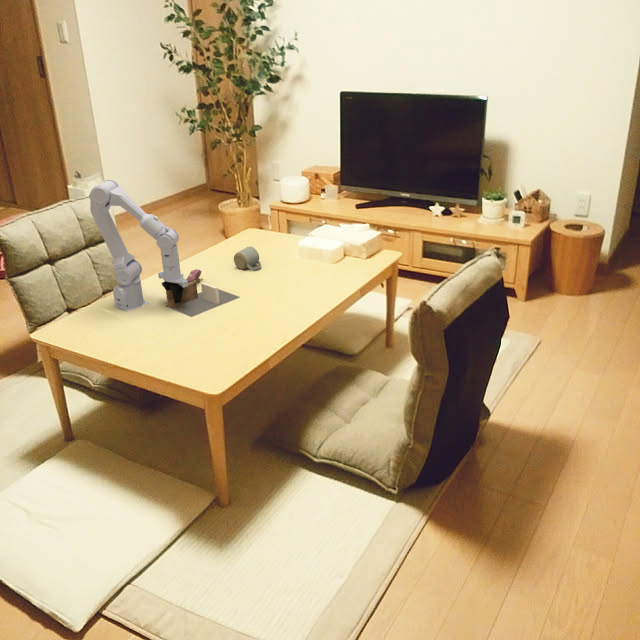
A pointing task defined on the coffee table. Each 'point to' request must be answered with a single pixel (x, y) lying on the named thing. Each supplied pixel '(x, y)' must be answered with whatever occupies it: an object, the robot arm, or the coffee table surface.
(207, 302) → the mat
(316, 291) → the coffee table surface
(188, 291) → the brown wooden block
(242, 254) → the ceramic mug
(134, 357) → the coffee table surface
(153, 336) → the coffee table surface
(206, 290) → the tile
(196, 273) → the pink irregular lump
